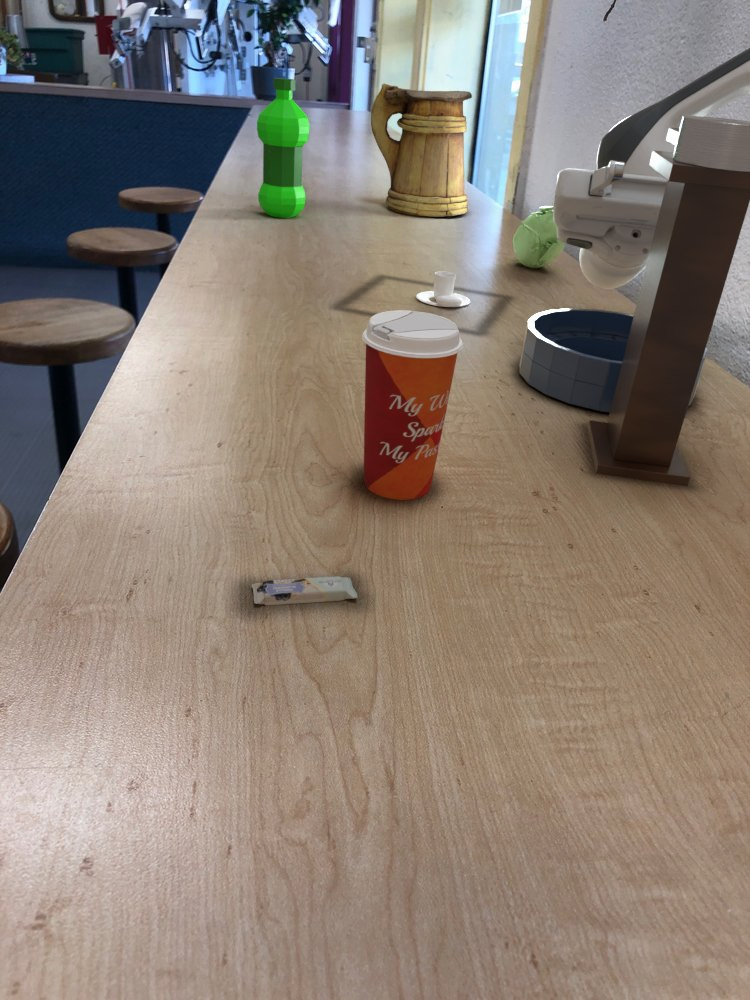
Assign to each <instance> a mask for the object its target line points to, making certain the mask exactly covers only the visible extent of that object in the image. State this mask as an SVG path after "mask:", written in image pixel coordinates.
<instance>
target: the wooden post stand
mask: <svg viewBox="0 0 750 1000" xmlns="http://www.w3.org/2000/svg"><path fill="white" fill-rule="evenodd" d="M673 154H674V152H664V151H654V150H653V151H652V155H651V159H650V163H649V166H650V167H652V168H653V169H654V170H655V171H657V172H658V173H659V174H660V175H662V176H663V177H664V178H665V179H667V184H666V188H665V192H664V196H663V200H662V204H661V208H660V212H659V216H658V220H657V224H656V228H655V232H654V236H653V241H652V245H651V249H650V253H649V257H648V261H647V265H646V267H645V268H644V273H643V277H642V281H641V286H640V289H639V293H638V298H637V301H636V306H635V310H634V314H633V315H634V317H633V321H632V325H631V329H630V333H629V337H628V341H627V345H626V349H625V354H624V358H623V362H622V366H621V370H620V374H619V378H618V382H617V386H616V390H615V394H614V398H613V402H612V406H611V410H610V412H609V414H608V417H607V422H605V421H598V420H588V424H587V428H586V429H587V433H588V439H589V445H590V450H591V456H592V460H593V466H594V471H595V474H598V475H603V476H611V477H618V478H625V479H633V480H639V481H647V482H653V483H661V484H668V485H676V486H682V487H688V485H689V482H690V479H691V477H690V474H689V472H688V469H687V467H686V464H685V462H684V459H683V457H682V454H681V452H680V450H679V448H678V441H679V438H680V435H681V431H682V429H683V425H684V421H685V417H686V415H687V412H688V408H689V406H688V405H689V402H690V398H691V395H692V392H693V388H694V385H695V382H696V378H697V375H698V372H699V368H700V365H701V362H702V358H703V355H704V352H705V348H707V346H708V342H709V338H710V336H711V332H712V329H713V324H714V321H715V318H716V315H717V312H718V309H719V305H720V302H721V298H722V294H723V291H724V288H725V285H726V283H727V282H726V281H727V278H728V274H729V272H730V268H731V265H732V263H733V262H732V261H733V259H734V255H735V252H736V249H737V246H738V241H739V239H740V234H741V231H742V229H743V225H744V221H745V219H746V215H747V212H748V208H749V206H750V172H742V171H730V170H722V169H714V168H706V167H700V166H694V165H689V164H684V163H680V162H677V161H674V160H673V159H672V158H673Z"/></svg>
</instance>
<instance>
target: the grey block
mask: <svg viewBox="0 0 750 1000" xmlns="http://www.w3.org/2000/svg"><path fill="white" fill-rule="evenodd" d="M666 141H667V142H669V143H671V144H673V145H674V146H675V150H674V154H673V158H672V159H673V160H674V161H677V162H680V163H684V164H689V165H694V166H700V167H706V168H714V169H722V170H730V171H742V172H750V120H742V119H733V118H724V117H722V118H721V117H714V116H713V117H712V116H705V117H701V116H683V118H682V122H681V126H680V128H669V129H668V134H667V138H666Z"/></svg>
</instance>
